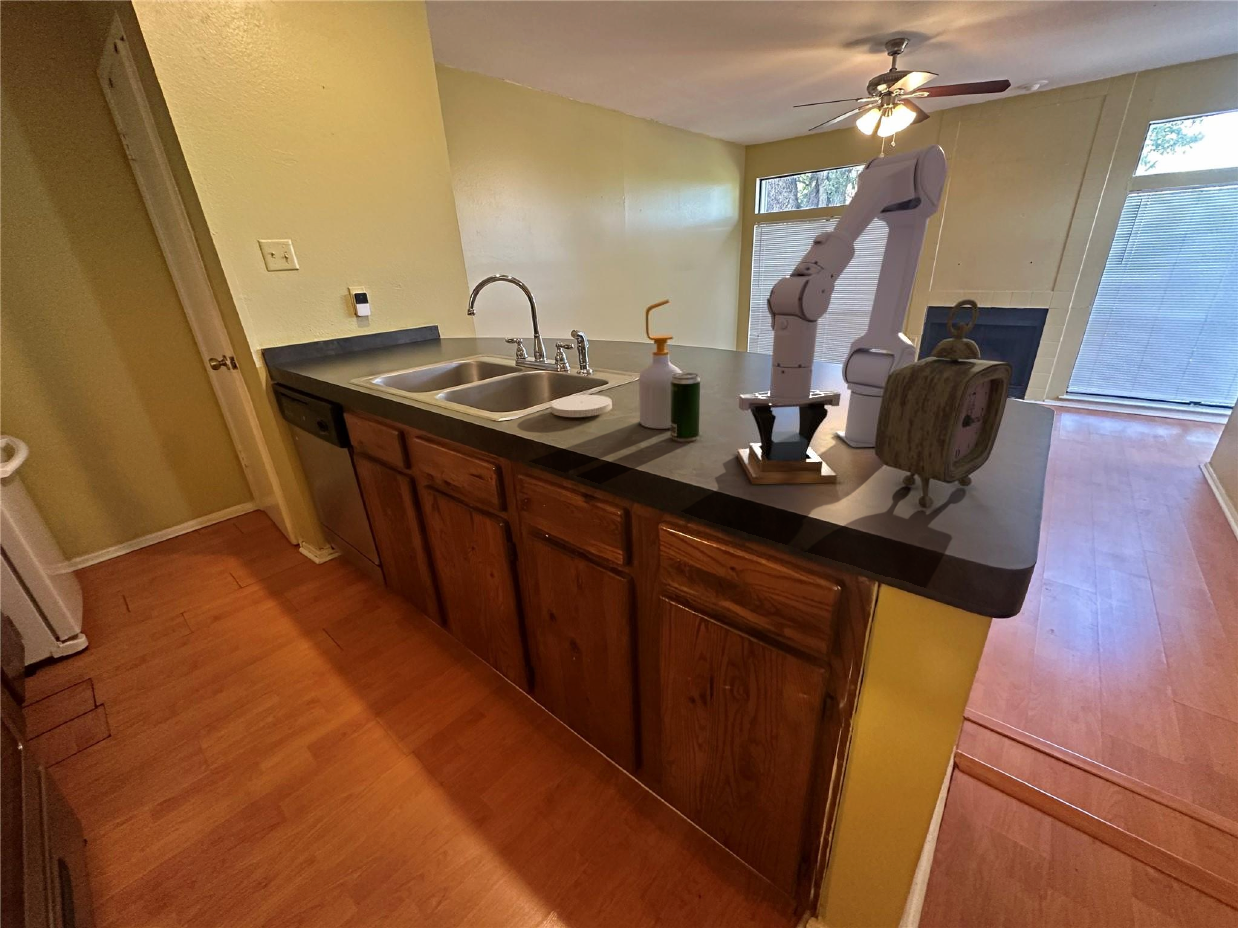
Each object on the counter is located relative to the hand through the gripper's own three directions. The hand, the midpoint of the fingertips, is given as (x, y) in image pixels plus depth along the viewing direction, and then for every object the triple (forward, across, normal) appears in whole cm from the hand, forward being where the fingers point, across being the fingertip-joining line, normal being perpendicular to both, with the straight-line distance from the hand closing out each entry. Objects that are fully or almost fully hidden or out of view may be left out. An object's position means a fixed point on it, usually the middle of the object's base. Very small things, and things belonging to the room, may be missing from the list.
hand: (784, 452), depth 74 cm
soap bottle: (+3, +16, -27) cm, 32 cm away
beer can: (+3, +13, -17) cm, 21 cm away
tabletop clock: (+3, -16, +10) cm, 19 cm away
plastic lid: (+3, +34, -38) cm, 51 cm away
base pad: (+3, 0, 0) cm, 3 cm away
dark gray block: (+1, 0, 0) cm, 1 cm away
